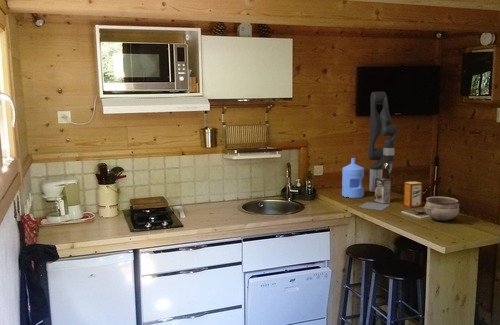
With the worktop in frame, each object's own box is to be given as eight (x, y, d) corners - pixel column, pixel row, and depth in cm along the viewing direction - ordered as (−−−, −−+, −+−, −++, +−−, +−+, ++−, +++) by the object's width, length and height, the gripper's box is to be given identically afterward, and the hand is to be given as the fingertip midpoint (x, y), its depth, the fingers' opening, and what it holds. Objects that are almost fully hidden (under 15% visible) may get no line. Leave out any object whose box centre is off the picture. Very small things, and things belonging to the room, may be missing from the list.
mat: (367, 202, 322) (367, 202, 322) (390, 205, 313) (390, 204, 313) (358, 207, 309) (358, 206, 309) (381, 210, 300) (381, 210, 300)
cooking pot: (434, 226, 264) (435, 205, 262) (413, 218, 281) (413, 198, 280) (470, 221, 272) (471, 201, 270) (446, 214, 289) (447, 194, 288)
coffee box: (374, 200, 327) (374, 178, 324) (381, 199, 329) (382, 177, 327) (382, 203, 319) (383, 180, 316) (390, 202, 321) (391, 179, 319)
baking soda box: (414, 204, 316) (415, 180, 314) (421, 206, 310) (422, 182, 308) (403, 205, 313) (404, 182, 310) (410, 207, 307) (411, 183, 304)
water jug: (337, 196, 343) (338, 158, 339) (350, 193, 353) (350, 156, 349) (355, 199, 332) (356, 160, 327) (368, 196, 342) (368, 158, 338)
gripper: (386, 152, 336) (385, 176, 338) (380, 154, 325) (379, 179, 327) (397, 153, 331) (396, 177, 334) (390, 155, 321) (390, 180, 323)
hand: (388, 178), depth 331 cm, fingers closed
